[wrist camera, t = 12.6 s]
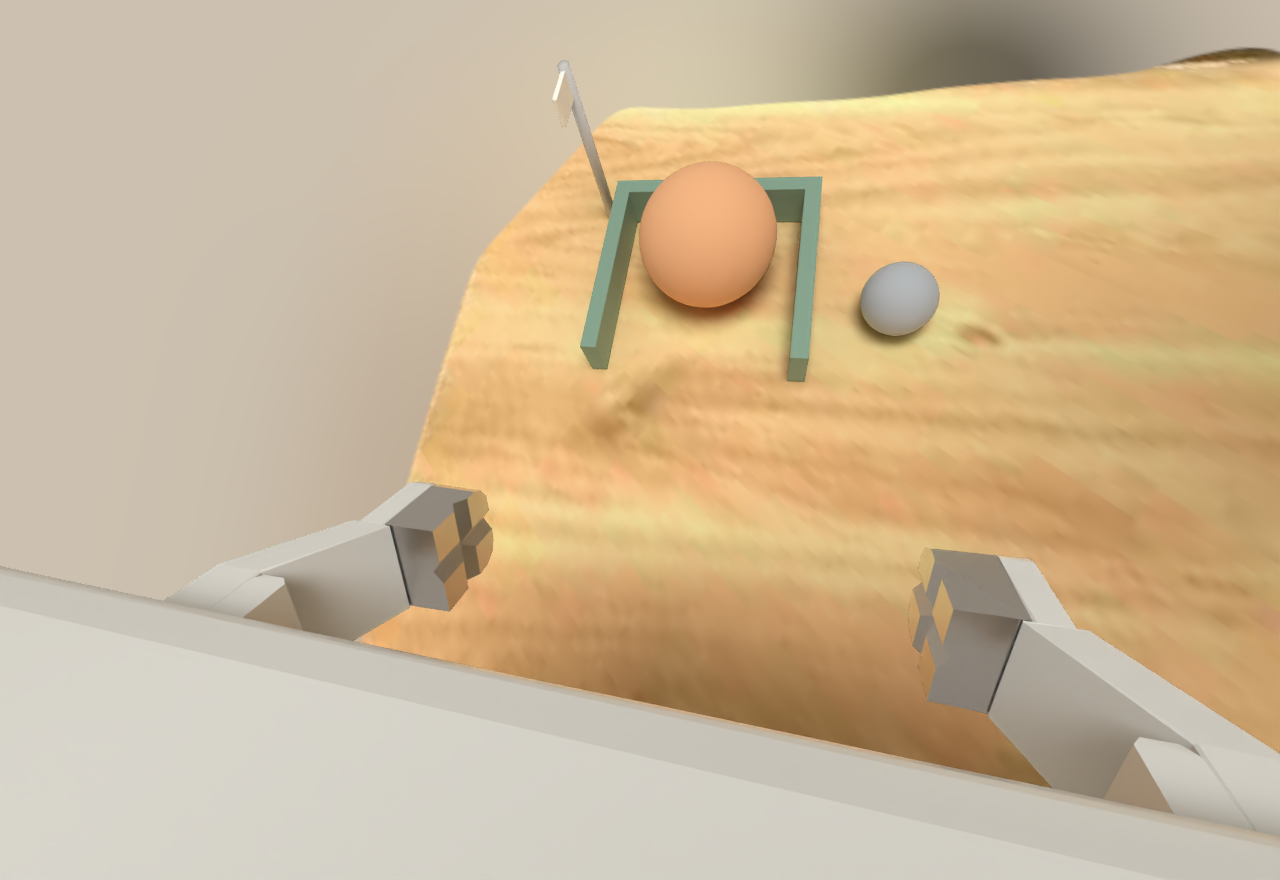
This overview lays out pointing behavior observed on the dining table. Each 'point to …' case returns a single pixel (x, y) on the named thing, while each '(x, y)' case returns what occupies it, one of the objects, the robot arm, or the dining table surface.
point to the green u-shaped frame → (786, 194)
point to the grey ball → (899, 298)
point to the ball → (707, 234)
